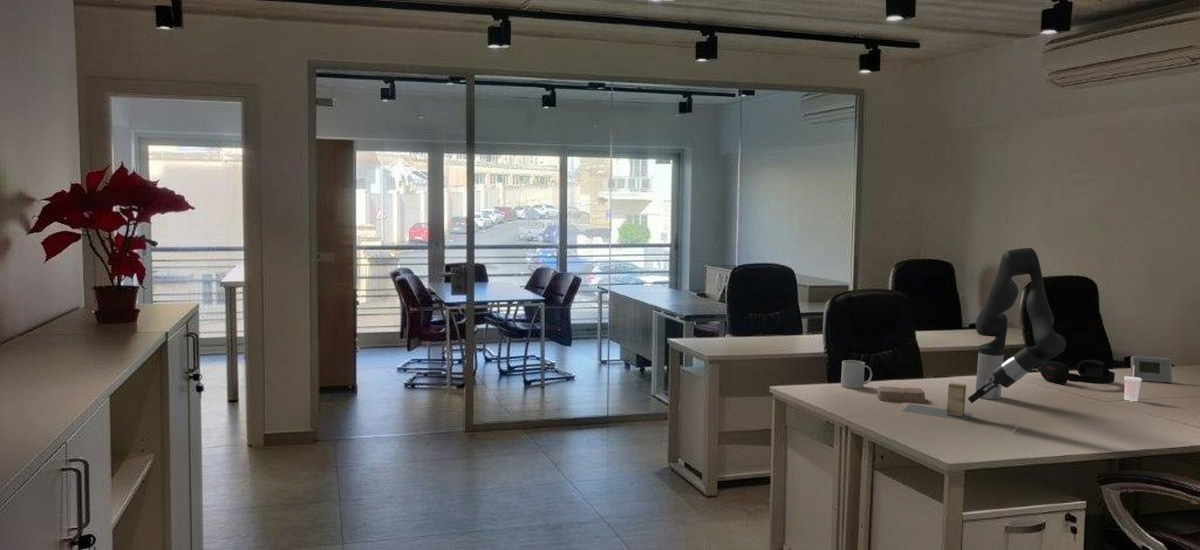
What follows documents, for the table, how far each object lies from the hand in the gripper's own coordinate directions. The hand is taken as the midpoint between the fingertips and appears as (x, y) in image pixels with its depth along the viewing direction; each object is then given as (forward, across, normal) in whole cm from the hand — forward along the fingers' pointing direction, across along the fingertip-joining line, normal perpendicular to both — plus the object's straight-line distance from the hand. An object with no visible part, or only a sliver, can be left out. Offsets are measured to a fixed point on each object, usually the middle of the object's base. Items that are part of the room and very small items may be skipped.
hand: (970, 400), depth 310 cm
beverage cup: (-25, -79, +34) cm, 90 cm away
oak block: (+7, 0, +1) cm, 7 cm away
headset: (-8, -105, +18) cm, 107 cm away
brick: (+24, -12, -15) cm, 31 cm away
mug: (+40, -22, -30) cm, 54 cm away
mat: (+12, +1, -3) cm, 12 cm away
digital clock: (-27, -132, +36) cm, 139 cm away
